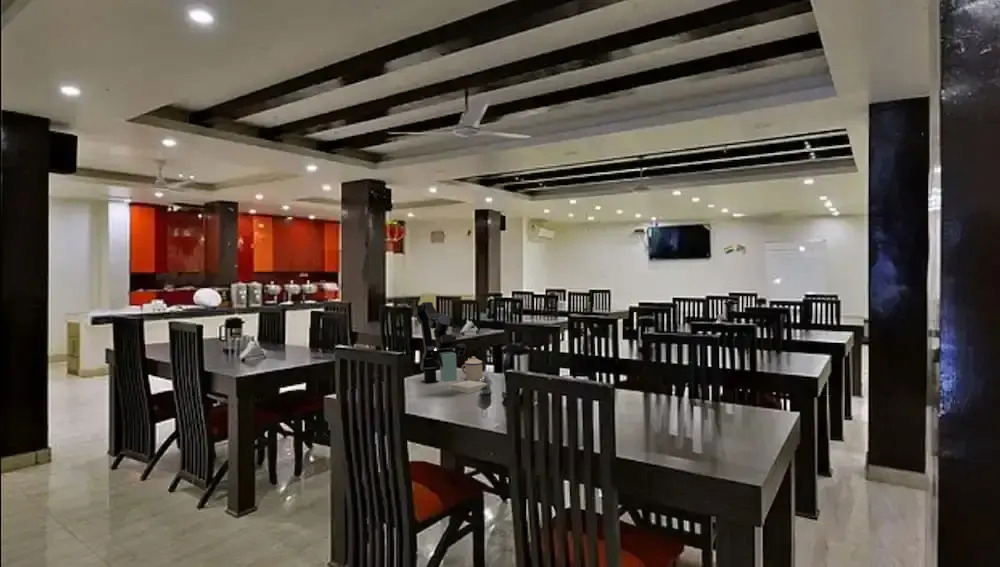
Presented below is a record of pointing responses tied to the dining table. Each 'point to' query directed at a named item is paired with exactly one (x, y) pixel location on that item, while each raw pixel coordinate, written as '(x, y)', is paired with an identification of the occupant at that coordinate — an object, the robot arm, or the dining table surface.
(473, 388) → the plate
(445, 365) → the teal block
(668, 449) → the dining table surface
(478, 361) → the teacup with lid
